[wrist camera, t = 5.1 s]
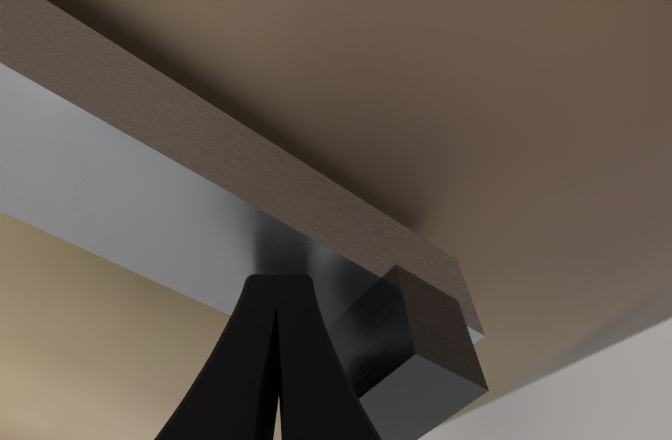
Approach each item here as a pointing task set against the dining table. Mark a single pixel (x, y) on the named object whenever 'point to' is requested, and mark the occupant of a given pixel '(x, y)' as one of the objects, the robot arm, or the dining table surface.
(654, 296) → the dining table surface
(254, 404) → the robot arm
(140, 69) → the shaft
